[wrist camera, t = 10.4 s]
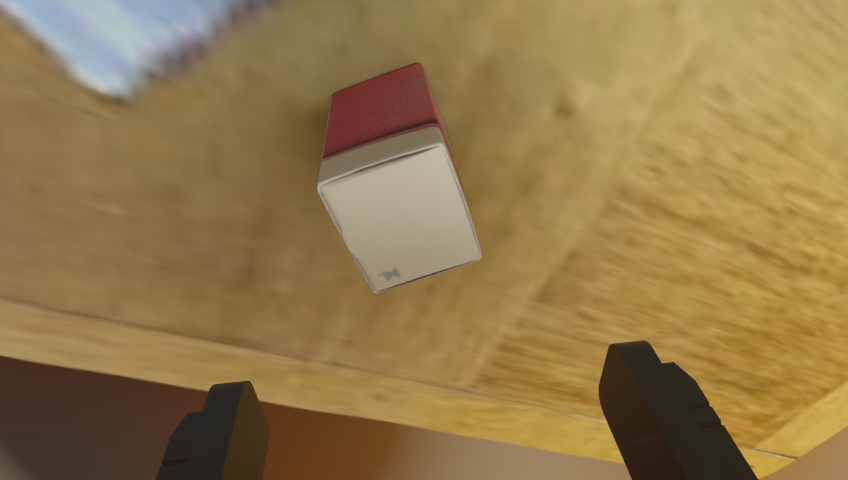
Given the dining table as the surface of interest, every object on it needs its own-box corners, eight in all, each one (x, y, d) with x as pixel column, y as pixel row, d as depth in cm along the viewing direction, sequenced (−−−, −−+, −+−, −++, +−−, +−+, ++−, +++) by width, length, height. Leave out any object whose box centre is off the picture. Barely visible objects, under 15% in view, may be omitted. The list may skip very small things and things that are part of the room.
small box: (455, 158, 24) (488, 263, 18) (371, 187, 25) (374, 299, 18) (421, 56, 21) (446, 139, 15) (326, 92, 22) (311, 187, 15)
